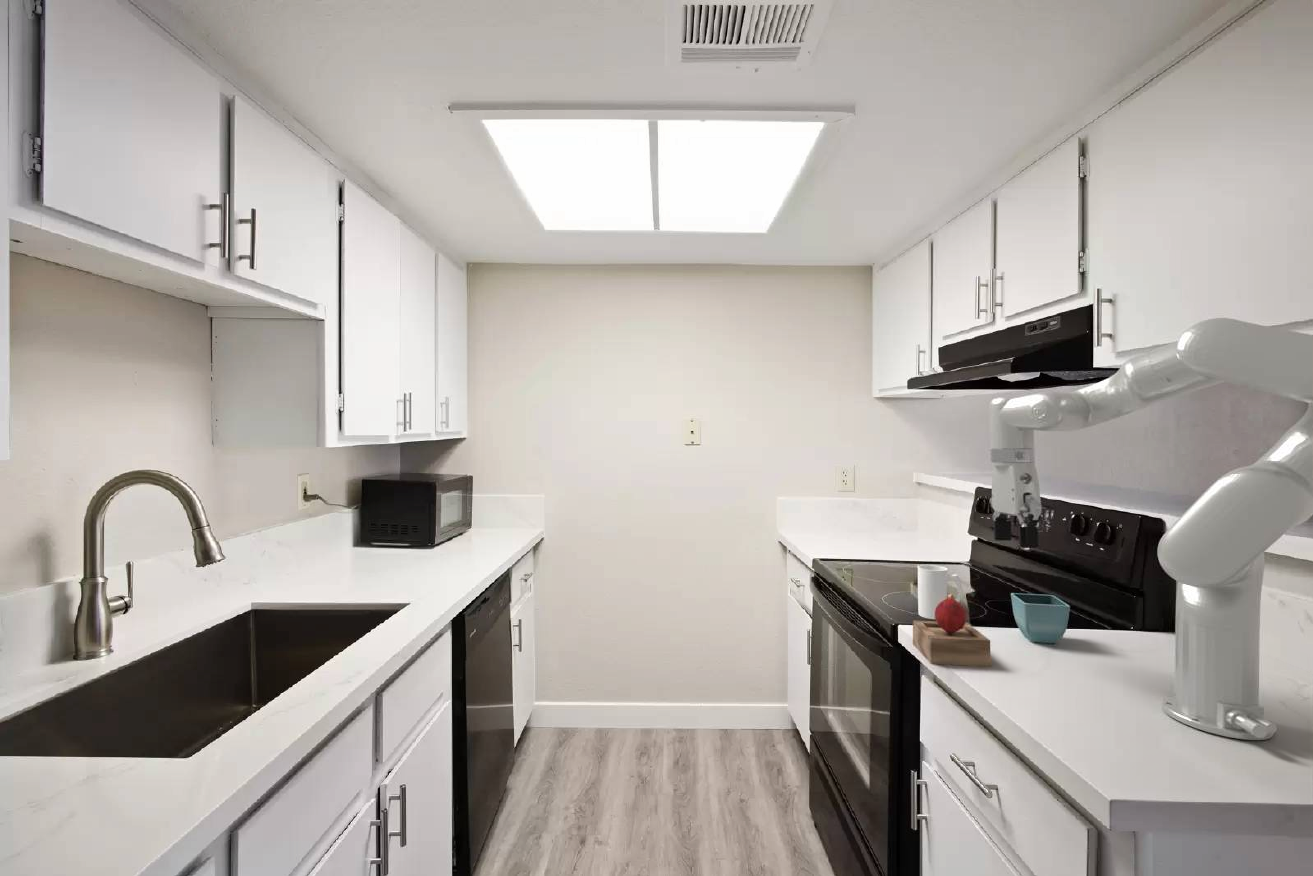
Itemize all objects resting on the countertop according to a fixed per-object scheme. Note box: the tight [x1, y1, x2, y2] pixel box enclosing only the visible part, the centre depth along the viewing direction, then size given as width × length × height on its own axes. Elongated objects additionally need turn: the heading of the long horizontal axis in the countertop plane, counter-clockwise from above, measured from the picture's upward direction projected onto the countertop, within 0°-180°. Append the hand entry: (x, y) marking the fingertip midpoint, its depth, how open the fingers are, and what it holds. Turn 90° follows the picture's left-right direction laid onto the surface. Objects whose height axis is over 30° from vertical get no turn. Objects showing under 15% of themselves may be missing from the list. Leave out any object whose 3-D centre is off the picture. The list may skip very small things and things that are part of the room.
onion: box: [935, 594, 967, 634], centre depth 119 cm, size 6×6×8 cm
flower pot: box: [1010, 592, 1071, 644], centre depth 128 cm, size 9×9×9 cm
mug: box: [917, 564, 964, 621], centre depth 144 cm, size 10×7×12 cm, turn 62°
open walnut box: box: [912, 620, 991, 667], centre depth 119 cm, size 11×11×5 cm
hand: (1015, 543), depth 117 cm, fingers open, 9 cm apart
